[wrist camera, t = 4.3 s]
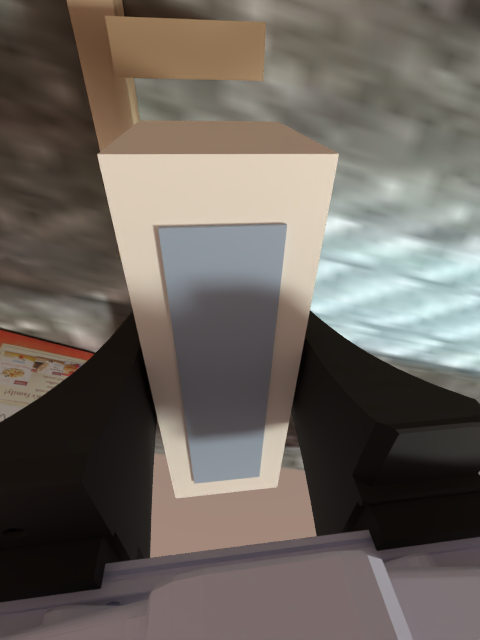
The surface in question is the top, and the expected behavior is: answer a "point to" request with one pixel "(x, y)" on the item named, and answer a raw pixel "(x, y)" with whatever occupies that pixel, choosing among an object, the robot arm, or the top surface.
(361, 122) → the top surface
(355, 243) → the top surface
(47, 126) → the top surface
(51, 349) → the cracker box
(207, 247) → the cream block
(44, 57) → the top surface
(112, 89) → the ledge
